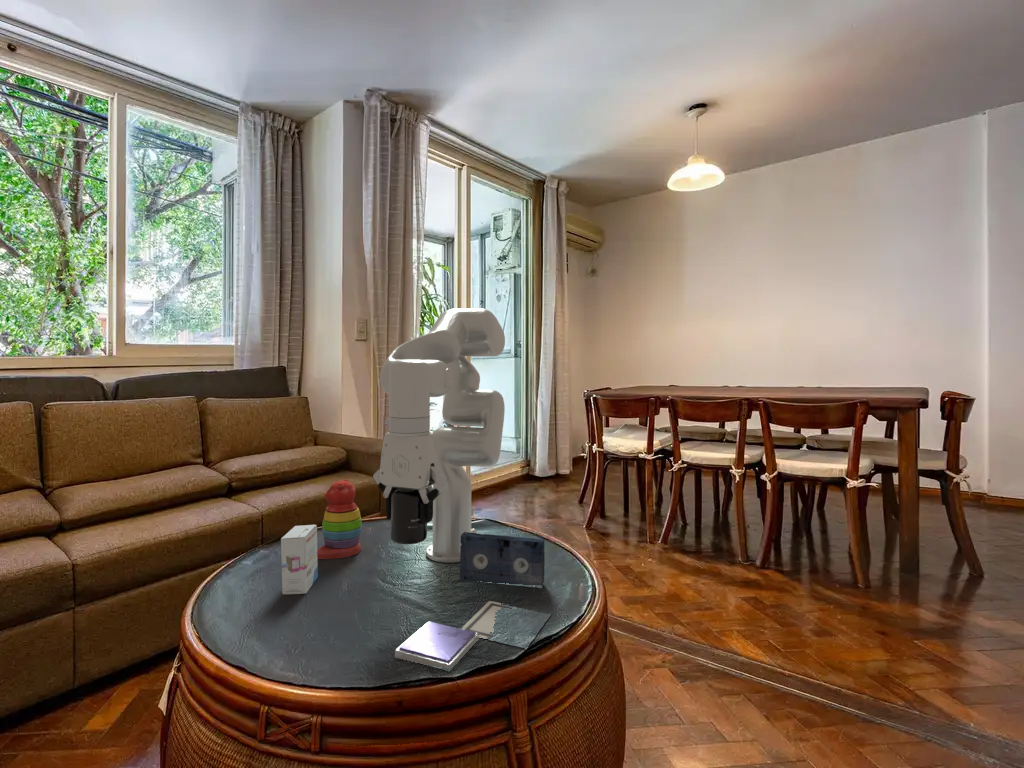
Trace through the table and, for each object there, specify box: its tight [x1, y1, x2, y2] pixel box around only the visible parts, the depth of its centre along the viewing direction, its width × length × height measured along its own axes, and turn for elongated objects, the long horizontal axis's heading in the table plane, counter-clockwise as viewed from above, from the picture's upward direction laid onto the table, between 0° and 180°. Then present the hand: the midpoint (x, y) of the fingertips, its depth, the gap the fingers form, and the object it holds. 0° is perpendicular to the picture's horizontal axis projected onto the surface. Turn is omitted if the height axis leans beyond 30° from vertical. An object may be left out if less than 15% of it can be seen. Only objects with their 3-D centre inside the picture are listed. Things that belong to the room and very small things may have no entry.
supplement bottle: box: [390, 488, 428, 545], centre depth 96 cm, size 7×7×12 cm
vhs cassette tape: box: [459, 532, 546, 586], centre depth 110 cm, size 18×3×10 cm, turn 76°
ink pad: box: [394, 621, 480, 669], centre depth 84 cm, size 10×10×2 cm
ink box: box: [280, 524, 319, 595], centre depth 107 cm, size 9×5×12 cm, turn 5°
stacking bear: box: [317, 478, 363, 560], centre depth 127 cm, size 11×10×18 cm
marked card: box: [460, 600, 512, 640], centre depth 92 cm, size 13×13×1 cm
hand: (409, 519), depth 96 cm, fingers closed on supplement bottle, 6 cm apart
